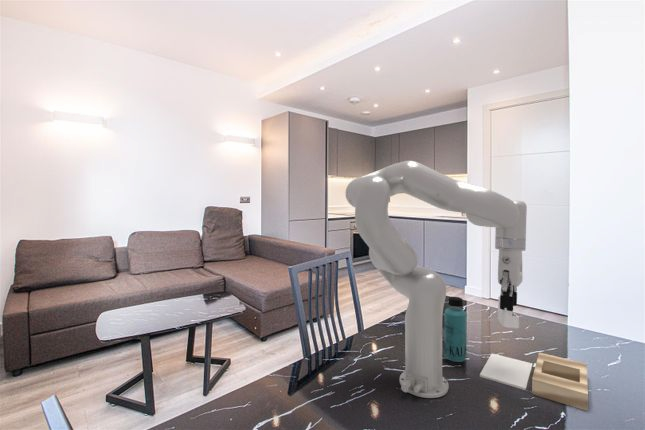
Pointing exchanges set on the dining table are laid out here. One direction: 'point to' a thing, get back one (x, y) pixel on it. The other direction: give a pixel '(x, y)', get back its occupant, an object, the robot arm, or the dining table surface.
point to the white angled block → (507, 317)
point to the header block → (561, 380)
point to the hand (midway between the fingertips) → (508, 306)
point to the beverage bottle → (455, 331)
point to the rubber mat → (507, 371)
